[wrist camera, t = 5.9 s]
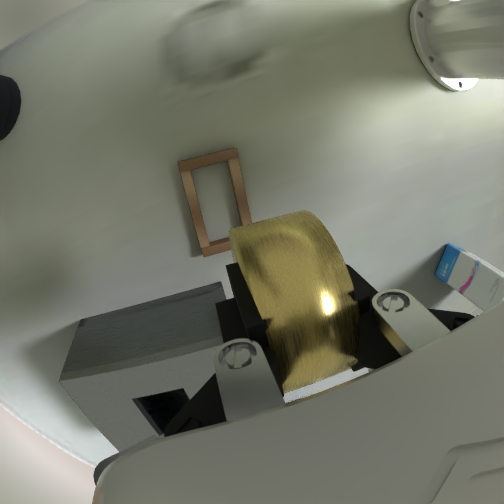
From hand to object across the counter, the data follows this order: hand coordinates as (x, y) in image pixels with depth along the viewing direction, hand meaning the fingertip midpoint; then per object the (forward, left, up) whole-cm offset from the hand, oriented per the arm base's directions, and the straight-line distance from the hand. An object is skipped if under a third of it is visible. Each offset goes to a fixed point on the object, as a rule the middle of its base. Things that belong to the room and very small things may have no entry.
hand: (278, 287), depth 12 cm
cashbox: (+15, -9, -16) cm, 24 cm away
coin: (-1, 0, -2) cm, 2 cm away
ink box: (+16, +30, -16) cm, 37 cm away
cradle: (0, 0, -16) cm, 16 cm away
